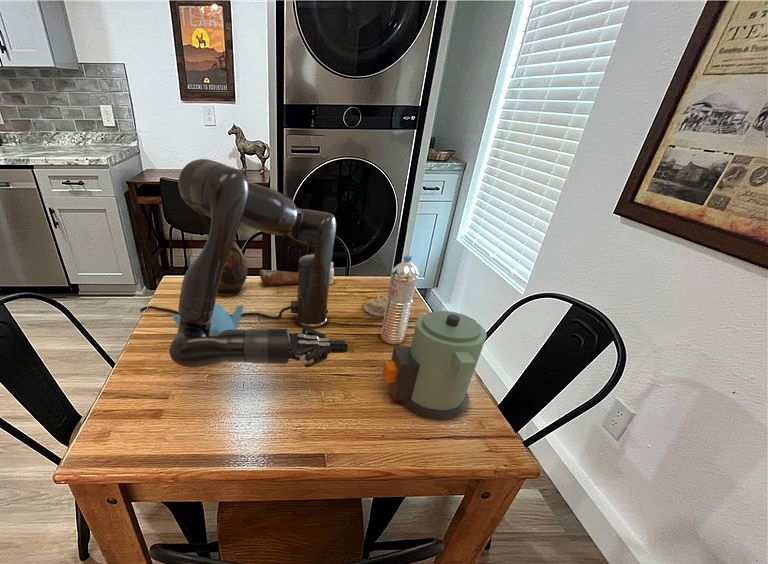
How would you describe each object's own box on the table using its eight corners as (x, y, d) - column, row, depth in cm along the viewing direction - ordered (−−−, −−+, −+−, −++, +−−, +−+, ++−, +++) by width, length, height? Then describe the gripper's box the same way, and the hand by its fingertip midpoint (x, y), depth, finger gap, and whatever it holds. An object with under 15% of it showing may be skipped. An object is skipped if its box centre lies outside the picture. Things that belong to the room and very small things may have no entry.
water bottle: (404, 346, 110) (422, 262, 95) (380, 344, 111) (394, 260, 97) (403, 334, 115) (420, 253, 101) (380, 332, 116) (394, 251, 102)
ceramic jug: (243, 280, 147) (239, 197, 130) (252, 297, 135) (248, 208, 118) (198, 284, 143) (187, 199, 126) (203, 302, 131) (191, 211, 114)
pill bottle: (334, 281, 148) (335, 261, 143) (331, 285, 144) (333, 265, 140) (323, 279, 149) (324, 260, 144) (320, 283, 145) (321, 264, 141)
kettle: (400, 428, 83) (421, 344, 71) (378, 367, 102) (391, 291, 89) (482, 428, 83) (517, 344, 71) (445, 367, 102) (468, 292, 90)
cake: (398, 309, 130) (402, 295, 127) (385, 321, 123) (389, 306, 120) (371, 299, 134) (374, 285, 131) (358, 310, 128) (361, 295, 124)
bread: (259, 281, 146) (259, 267, 143) (309, 280, 148) (310, 266, 145) (260, 288, 141) (259, 273, 138) (311, 287, 143) (312, 272, 139)
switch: (385, 382, 87) (388, 370, 85) (382, 373, 90) (384, 360, 88) (396, 382, 87) (399, 370, 85) (392, 373, 90) (395, 360, 88)
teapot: (248, 331, 116) (246, 299, 110) (219, 356, 105) (215, 321, 99) (206, 320, 121) (202, 288, 115) (175, 342, 110) (168, 308, 104)
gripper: (265, 348, 75) (353, 348, 76) (267, 316, 86) (344, 316, 86) (265, 378, 79) (349, 378, 80) (267, 344, 90) (341, 344, 91)
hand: (346, 346), depth 83 cm, fingers closed
